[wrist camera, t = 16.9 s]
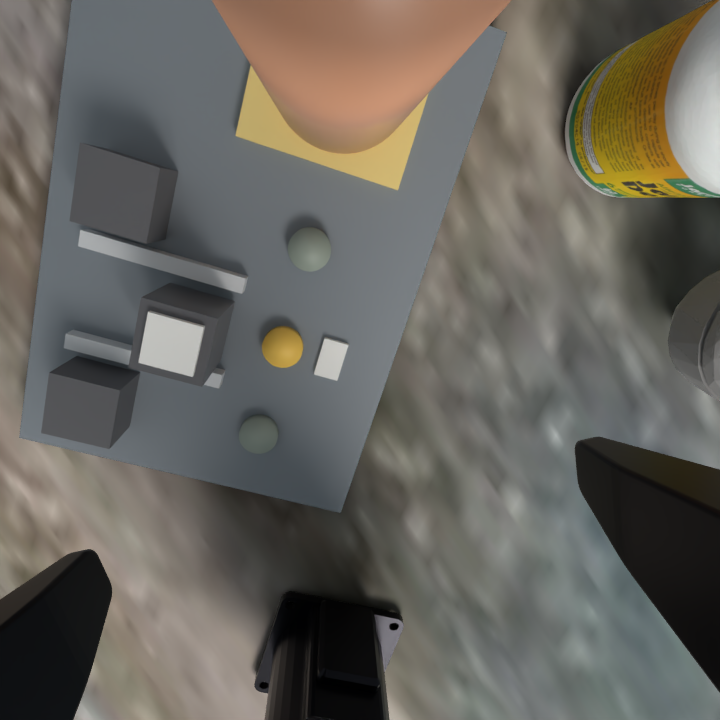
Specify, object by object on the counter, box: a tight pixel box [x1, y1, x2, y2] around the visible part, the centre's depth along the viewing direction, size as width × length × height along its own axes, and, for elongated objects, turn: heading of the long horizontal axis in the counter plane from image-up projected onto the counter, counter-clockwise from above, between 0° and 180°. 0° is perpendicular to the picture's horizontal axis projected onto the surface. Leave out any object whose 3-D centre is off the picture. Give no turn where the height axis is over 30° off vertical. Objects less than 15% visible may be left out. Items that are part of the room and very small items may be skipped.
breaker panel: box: [19, 0, 507, 513], centre depth 18 cm, size 20×14×3 cm
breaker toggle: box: [128, 283, 235, 387], centre depth 18 cm, size 2×2×3 cm
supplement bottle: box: [565, 0, 720, 198], centre depth 15 cm, size 5×5×10 cm
